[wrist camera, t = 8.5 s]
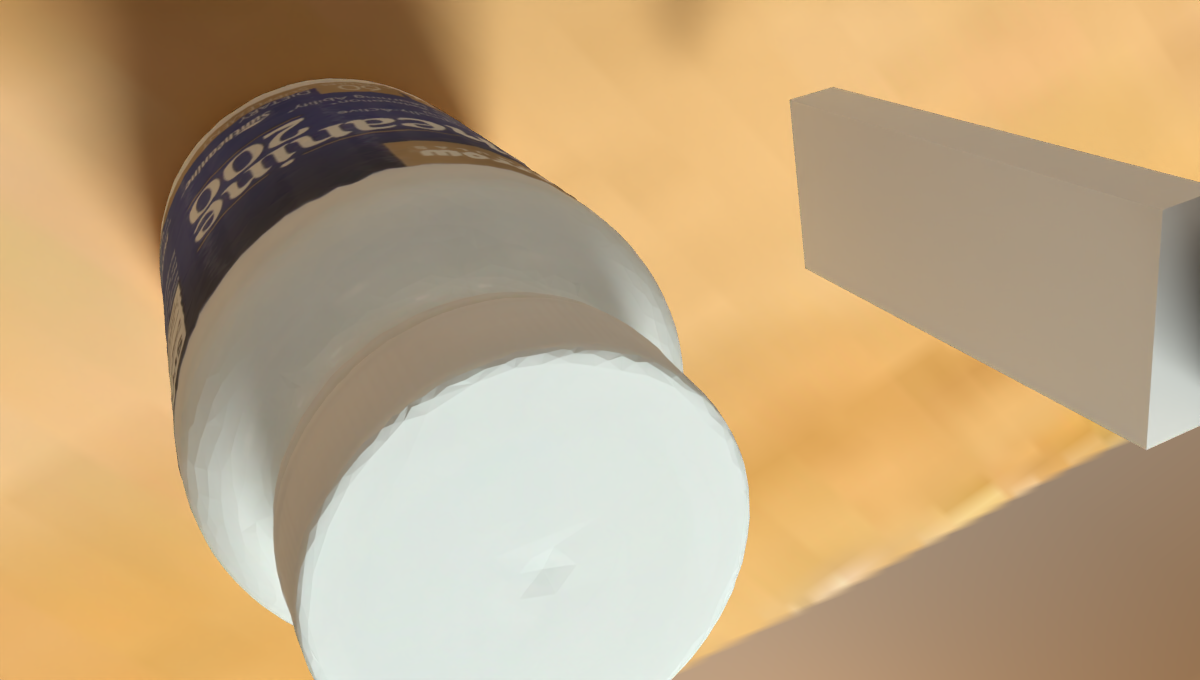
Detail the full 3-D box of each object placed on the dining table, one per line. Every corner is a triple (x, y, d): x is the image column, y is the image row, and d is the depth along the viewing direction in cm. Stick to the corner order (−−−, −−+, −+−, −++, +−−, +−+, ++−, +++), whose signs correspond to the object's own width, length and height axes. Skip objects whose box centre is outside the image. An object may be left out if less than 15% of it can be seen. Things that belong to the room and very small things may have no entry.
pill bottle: (474, 45, 17) (822, 189, 8) (517, 351, 19) (825, 704, 11) (109, 105, 15) (95, 360, 7) (205, 433, 17) (283, 927, 9)
